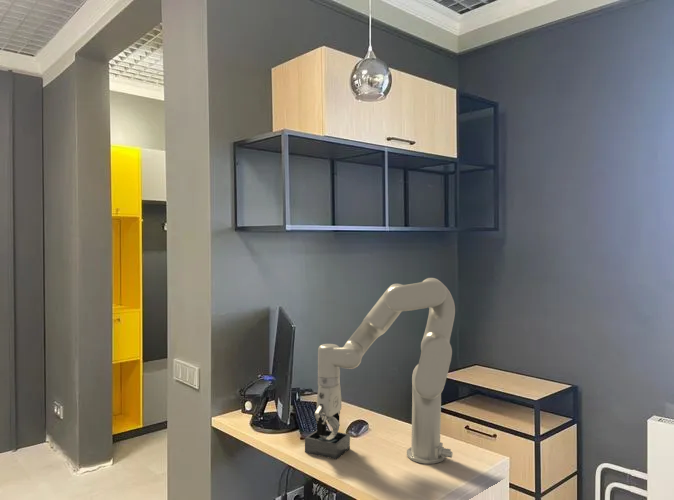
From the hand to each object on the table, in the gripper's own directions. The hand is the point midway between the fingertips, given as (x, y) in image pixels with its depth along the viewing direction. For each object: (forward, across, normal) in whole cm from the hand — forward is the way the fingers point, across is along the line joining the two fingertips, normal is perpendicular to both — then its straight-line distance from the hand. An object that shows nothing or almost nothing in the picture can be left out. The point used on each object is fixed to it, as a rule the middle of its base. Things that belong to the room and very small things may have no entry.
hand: (328, 430), depth 177 cm
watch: (+6, 0, 0) cm, 6 cm away
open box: (+7, 0, 0) cm, 7 cm away
